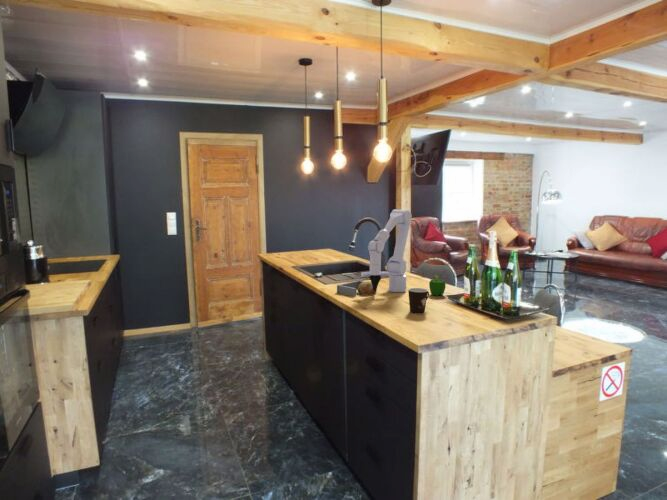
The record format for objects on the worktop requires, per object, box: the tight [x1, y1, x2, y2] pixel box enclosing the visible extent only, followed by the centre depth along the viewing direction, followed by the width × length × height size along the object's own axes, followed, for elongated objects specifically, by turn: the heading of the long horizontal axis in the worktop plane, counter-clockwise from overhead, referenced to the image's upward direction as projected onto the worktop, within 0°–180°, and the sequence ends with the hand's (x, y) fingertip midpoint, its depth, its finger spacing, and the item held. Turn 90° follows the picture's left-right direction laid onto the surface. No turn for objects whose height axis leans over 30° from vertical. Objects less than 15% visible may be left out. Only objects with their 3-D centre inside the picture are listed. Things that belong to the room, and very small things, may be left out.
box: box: [336, 280, 366, 297], centre depth 229 cm, size 12×18×4 cm, turn 138°
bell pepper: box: [428, 275, 446, 297], centre depth 223 cm, size 8×8×10 cm
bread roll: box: [357, 281, 377, 296], centre depth 226 cm, size 10×10×8 cm
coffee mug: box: [407, 287, 430, 314], centre depth 191 cm, size 12×9×10 cm
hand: (374, 289), depth 221 cm, fingers closed
